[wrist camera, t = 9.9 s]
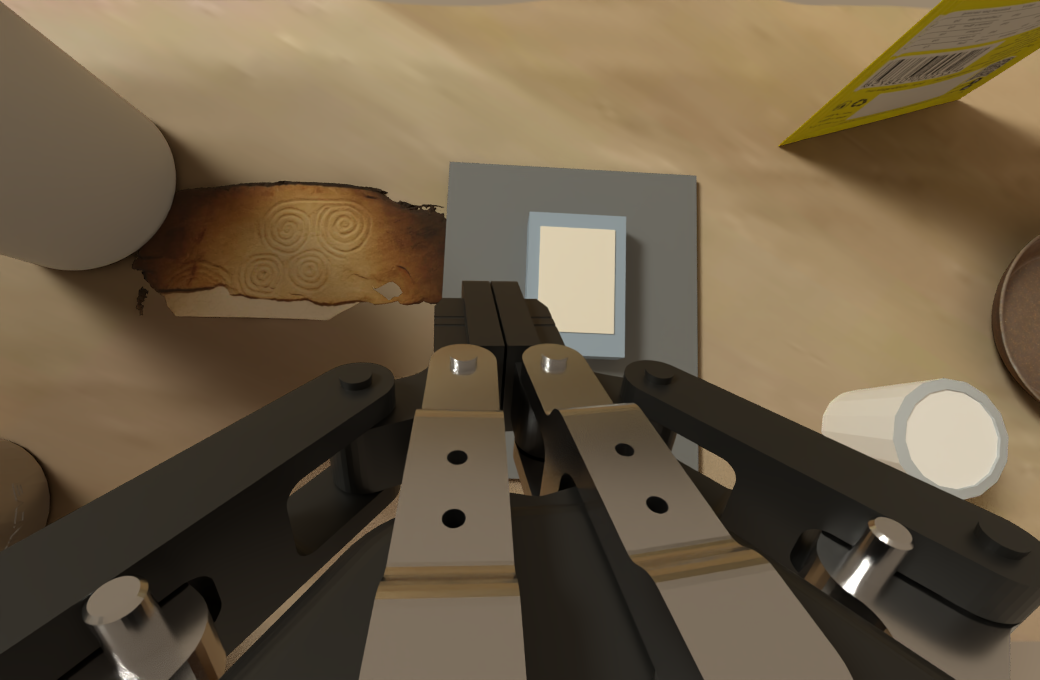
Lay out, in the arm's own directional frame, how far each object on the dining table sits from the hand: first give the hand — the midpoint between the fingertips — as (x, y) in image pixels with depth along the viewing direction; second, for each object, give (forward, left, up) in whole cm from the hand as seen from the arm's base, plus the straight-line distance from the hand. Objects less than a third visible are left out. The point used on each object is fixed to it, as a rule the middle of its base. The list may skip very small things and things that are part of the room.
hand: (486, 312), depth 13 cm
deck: (+5, 0, -19) cm, 19 cm away
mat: (+5, +3, -20) cm, 21 cm away
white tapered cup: (+26, -4, -21) cm, 34 cm away
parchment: (-13, +7, -21) cm, 25 cm away
